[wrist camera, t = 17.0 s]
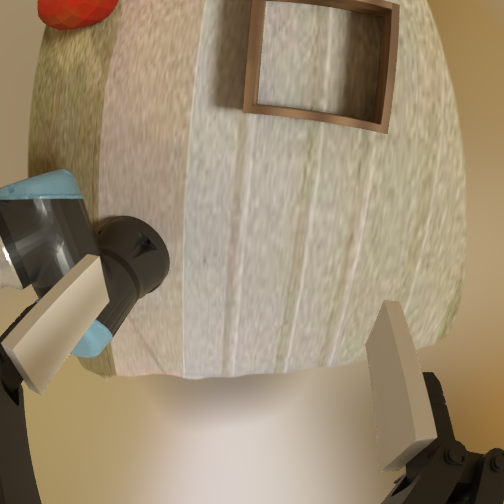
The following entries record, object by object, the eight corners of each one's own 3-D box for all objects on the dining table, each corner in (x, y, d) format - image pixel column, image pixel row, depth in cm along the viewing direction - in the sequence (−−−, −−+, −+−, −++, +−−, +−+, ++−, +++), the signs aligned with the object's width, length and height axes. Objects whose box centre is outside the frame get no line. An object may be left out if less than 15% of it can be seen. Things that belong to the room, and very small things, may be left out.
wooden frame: (249, 110, 39) (242, 112, 35) (259, -6, 30) (253, -17, 26) (378, 129, 37) (387, 134, 33) (389, 13, 28) (399, 5, 24)
